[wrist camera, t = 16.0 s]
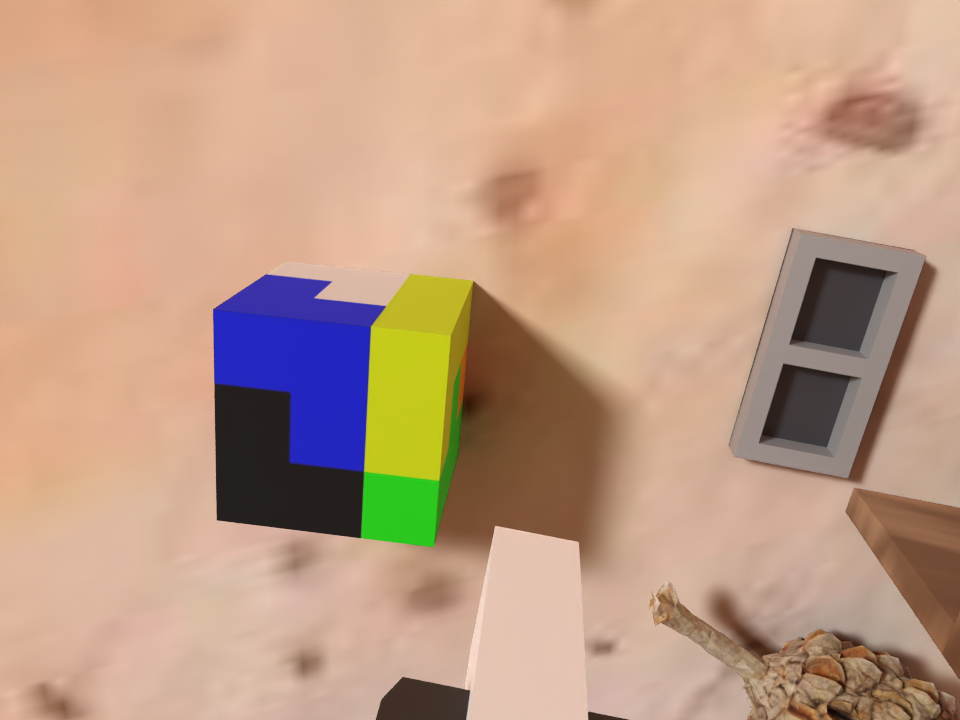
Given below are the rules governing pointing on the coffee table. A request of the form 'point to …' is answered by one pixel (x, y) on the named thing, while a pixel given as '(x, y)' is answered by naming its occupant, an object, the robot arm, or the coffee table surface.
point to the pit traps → (824, 351)
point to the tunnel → (917, 559)
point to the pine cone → (813, 675)
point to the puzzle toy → (340, 400)
